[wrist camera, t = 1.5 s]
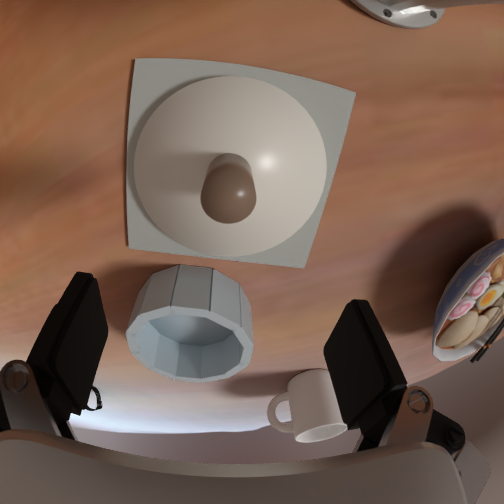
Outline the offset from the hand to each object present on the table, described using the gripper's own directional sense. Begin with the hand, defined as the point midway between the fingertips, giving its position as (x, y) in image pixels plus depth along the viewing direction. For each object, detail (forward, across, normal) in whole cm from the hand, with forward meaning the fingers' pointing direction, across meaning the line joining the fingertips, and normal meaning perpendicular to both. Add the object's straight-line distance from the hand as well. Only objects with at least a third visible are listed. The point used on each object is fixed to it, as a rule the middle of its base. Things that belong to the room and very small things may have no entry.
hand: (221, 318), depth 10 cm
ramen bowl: (+16, -37, +7) cm, 41 cm away
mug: (+17, -16, +32) cm, 40 cm away
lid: (+16, 0, -1) cm, 16 cm away
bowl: (+16, +2, +16) cm, 23 cm away
